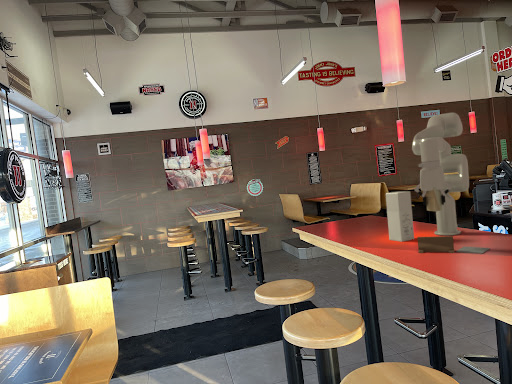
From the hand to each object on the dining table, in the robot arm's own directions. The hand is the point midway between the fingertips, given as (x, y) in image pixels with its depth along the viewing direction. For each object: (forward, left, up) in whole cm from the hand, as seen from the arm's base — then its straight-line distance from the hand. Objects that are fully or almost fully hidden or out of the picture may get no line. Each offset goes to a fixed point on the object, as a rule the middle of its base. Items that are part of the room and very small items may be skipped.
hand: (434, 204), depth 170 cm
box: (0, 0, -3) cm, 3 cm away
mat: (+1, +15, -20) cm, 25 cm away
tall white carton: (-14, -24, -20) cm, 34 cm away
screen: (+8, +2, -20) cm, 21 cm away
